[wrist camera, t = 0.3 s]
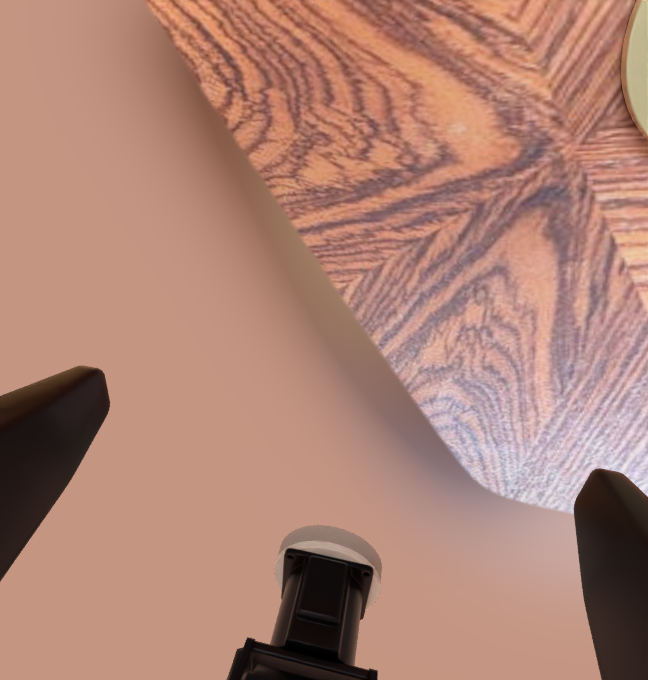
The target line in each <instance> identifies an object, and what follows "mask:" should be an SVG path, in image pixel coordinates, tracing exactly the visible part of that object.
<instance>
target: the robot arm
mask: <svg viewBox="0 0 648 680" xmlns="http://www.w3.org/2000/svg"><path fill="white" fill-rule="evenodd" d="M109 407H110V400H109V395H108V390H107V385H106V379H105V375H104V373H103V371H102V370H100V369H98V368H93V367H88V366H77V367H75V368H72V369H69V370H67V371H64V372H61V373H59V374H56V375H54V376H51V377H48V378H46V379H43V380H41V381H38V382H36V383H33V384H30V385H28V386H25V387H23V388H20V389H17V390H15V391H12V392H10V393H7V394H4V395H2V396H0V581H1V580H2V578H3V577H4V575H5V574H6V573H7V571H8V570H9V568H10V567H11V565H12V564H13V563H14V561H15V560H16V558H17V557H18V555H19V554H20V553H21V551H22V550H23V548H24V547H25V545H26V544H27V542H28V541H29V539H30V538H31V537H32V535H33V534H34V532H35V531H36V530H37V528H38V527H39V525H40V524H41V522H42V521H43V520H44V518H45V517H46V515H47V514H48V512H49V511H50V510H51V508H52V506H53V505H54V504H55V502H56V501H57V500H58V498H59V497H60V495H61V494H62V492H63V491H64V489H65V488H66V486H67V485H68V483H69V482H70V480H71V479H72V477H73V475H74V474H75V472H76V470H77V468H78V466H79V465H80V463H81V461H82V459H83V458H84V456H85V454H86V452H87V450H88V448H89V446H90V445H91V443H92V441H93V439H94V438H95V436H96V434H97V432H98V430H99V429H100V427H101V425H102V423H103V422H104V420H105V418H106V416H107V414H108V411H109ZM574 517H575V526H576V535H577V545H578V554H579V563H580V572H581V581H582V589H583V596H584V602H585V607H586V612H587V616H588V621H589V626H590V630H591V634H592V639H593V643H594V648H595V652H596V657H597V660H598V666H599V670H600V674H601V678H602V680H648V497H647V496H646V495H645V494H644V493H643V492H642V491H641V490H640V489H639V488H638V487H637V486H636V485H635V484H634V483H633V482H631V481H630V480H629V479H628V478H627V477H626V476H625V475H624V474H622V473H619V472H616V471H611V470H606V469H600V468H599V469H595V470H593V471H592V472H591V474H590V475H589V477H588V479H587V481H586V482H585V484H584V486H583V488H582V489H581V491H580V493H579V494H578V496H577V498H576V501H575V505H574ZM373 573H374V569H373V567H371V566H369V565H366V564H361V563H357V562H352V561H348V560H343V559H339V558H334V557H330V556H326V555H321V554H317V553H312V552H308V551H303V550H299V549H294V548H287V549H286V550H285V554H284V563H283V579H282V596H281V599H282V602H281V605H280V610H279V613H278V617H277V621H276V624H275V628H274V632H273V635H272V639H271V643H270V645H269V644H265V643H261V642H257V641H255V639H252V638H247V640H246V642H245V645H244V647H243V648H239V649H237V651H236V654H235V657H234V660H233V664H232V667H231V669H230V672H229V675H228V678H227V680H377V672H378V671H377V670H373V669H369V670H367V669H363V668H359V667H355V666H354V663H355V655H356V647H357V639H358V631H359V622H360V620H361V619H363V617H364V613H365V609H366V604H367V600H368V596H369V592H370V587H371V583H372V579H373Z"/></svg>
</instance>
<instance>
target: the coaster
mask: <svg viewBox="0 0 648 680" xmlns="http://www.w3.org/2000/svg"><path fill="white" fill-rule="evenodd" d="M621 79H622V90H623V94H624V98H625V102H626V106H627V108H628V111H629V113H630V115H631V118H632V120H633V121H634V123H635V125H636V126H637V128H638V129H639V131H640V132H641V133H642V135H643V136H644V137H645V138H646V139H647V140H648V0H637V1H636V3H635V5H634V8H633V10H632V13H631V16H630V19H629V23H628V26H627V30H626V33H625V38H624V44H623V50H622V60H621Z"/></svg>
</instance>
